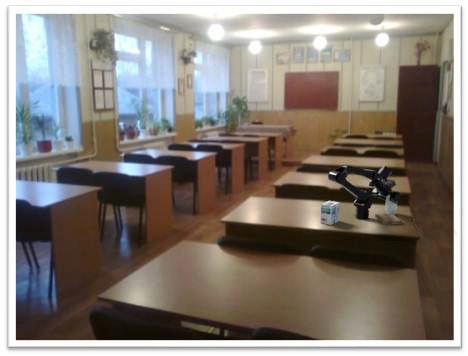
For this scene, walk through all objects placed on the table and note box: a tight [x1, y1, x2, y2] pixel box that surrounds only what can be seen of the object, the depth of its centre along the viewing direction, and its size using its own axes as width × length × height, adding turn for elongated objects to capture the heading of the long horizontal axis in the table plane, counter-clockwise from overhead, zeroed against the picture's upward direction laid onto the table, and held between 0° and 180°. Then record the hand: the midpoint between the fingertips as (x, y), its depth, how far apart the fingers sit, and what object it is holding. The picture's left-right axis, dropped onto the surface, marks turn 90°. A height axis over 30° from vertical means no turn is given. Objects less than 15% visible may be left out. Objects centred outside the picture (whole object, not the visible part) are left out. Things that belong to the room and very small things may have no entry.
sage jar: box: [384, 196, 398, 216], centre depth 258 cm, size 6×6×10 cm
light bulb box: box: [320, 200, 341, 226], centre depth 241 cm, size 11×7×11 cm, turn 143°
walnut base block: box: [374, 213, 403, 225], centre depth 244 cm, size 10×14×2 cm
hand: (393, 202), depth 258 cm, fingers closed on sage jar, 6 cm apart
